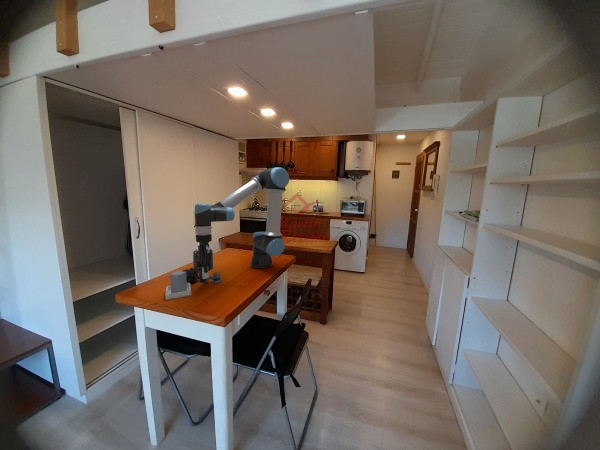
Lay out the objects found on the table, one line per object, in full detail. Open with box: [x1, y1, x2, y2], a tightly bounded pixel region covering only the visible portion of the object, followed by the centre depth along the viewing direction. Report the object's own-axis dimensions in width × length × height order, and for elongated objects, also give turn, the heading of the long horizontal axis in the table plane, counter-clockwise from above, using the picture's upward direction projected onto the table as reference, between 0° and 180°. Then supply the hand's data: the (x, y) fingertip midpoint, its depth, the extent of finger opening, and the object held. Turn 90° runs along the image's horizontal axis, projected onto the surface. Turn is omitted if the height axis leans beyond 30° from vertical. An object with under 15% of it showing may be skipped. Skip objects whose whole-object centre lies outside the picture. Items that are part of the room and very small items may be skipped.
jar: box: [192, 246, 214, 272], centre depth 144 cm, size 12×12×15 cm
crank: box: [198, 267, 222, 284], centre depth 122 cm, size 12×4×8 cm, turn 137°
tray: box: [164, 282, 192, 301], centre depth 112 cm, size 11×11×2 cm
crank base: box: [203, 278, 222, 285], centre depth 125 cm, size 9×5×5 cm, turn 118°
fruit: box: [181, 267, 199, 283], centre depth 125 cm, size 9×8×15 cm
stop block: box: [169, 270, 187, 293], centre depth 111 cm, size 5×5×10 cm
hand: (205, 278), depth 117 cm, fingers closed
